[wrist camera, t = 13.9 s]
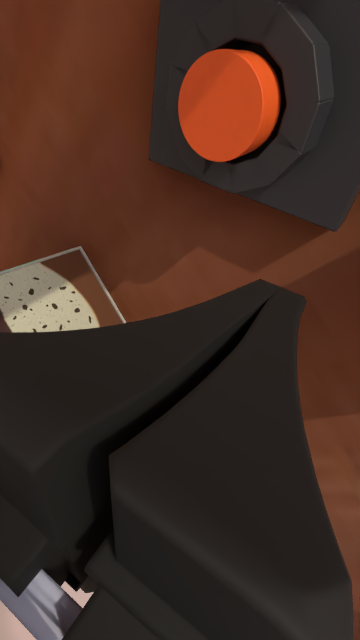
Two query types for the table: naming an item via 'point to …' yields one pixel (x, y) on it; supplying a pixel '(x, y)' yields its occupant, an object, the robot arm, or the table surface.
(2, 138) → the table surface
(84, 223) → the table surface
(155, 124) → the button block
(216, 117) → the desk button
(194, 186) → the table surface
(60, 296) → the food container
